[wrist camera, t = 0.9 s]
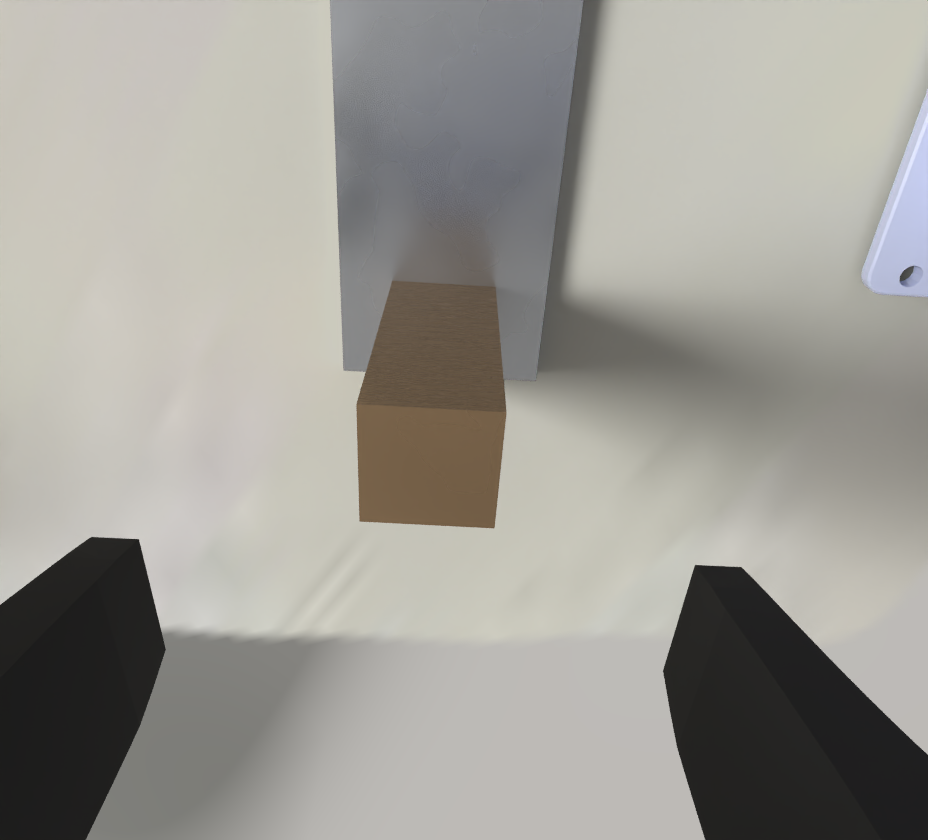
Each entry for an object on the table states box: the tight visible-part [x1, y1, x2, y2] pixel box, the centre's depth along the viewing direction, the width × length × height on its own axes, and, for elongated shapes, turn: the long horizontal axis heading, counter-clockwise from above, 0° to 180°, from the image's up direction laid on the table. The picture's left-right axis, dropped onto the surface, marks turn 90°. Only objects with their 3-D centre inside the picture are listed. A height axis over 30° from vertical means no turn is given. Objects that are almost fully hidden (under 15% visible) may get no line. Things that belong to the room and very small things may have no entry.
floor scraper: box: [330, 0, 583, 528], centre depth 11 cm, size 16×5×7 cm, turn 177°
